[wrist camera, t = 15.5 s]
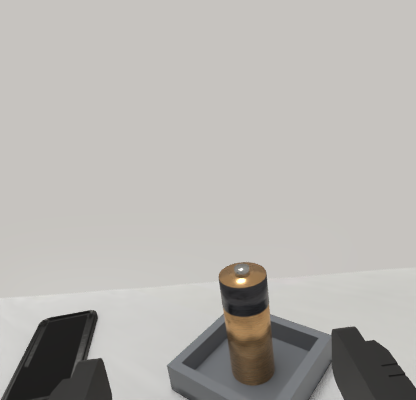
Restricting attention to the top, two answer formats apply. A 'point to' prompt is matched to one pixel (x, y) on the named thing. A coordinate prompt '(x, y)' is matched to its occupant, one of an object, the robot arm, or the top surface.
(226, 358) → the tray
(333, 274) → the top surface
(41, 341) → the phone
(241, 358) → the battery cell
